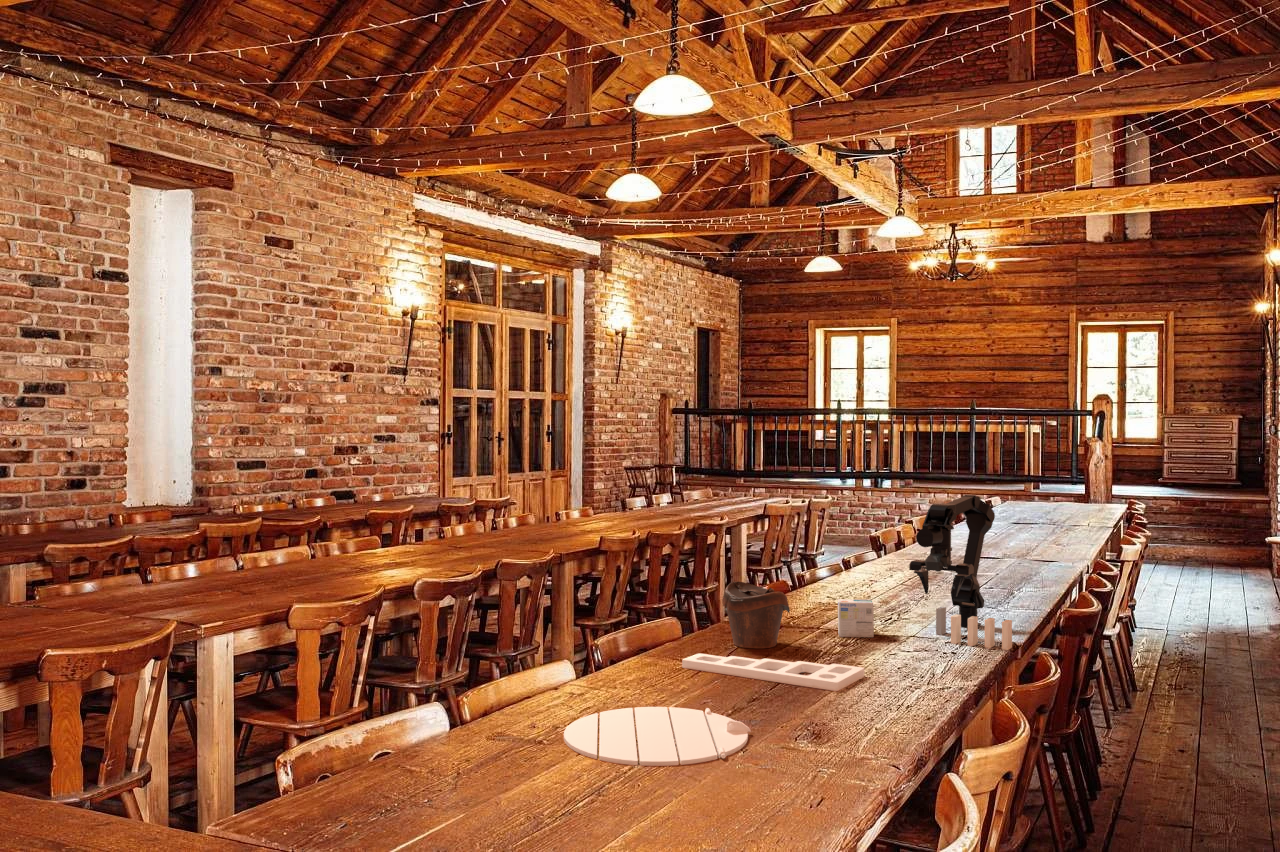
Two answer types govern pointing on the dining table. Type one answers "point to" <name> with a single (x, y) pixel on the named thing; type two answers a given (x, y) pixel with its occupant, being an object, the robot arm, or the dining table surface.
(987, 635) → the domino
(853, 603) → the light bulb box
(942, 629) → the domino
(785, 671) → the holder
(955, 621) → the domino
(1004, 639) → the domino
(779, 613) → the rusty bucket
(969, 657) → the dining table surface
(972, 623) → the domino
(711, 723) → the white grooved round board
